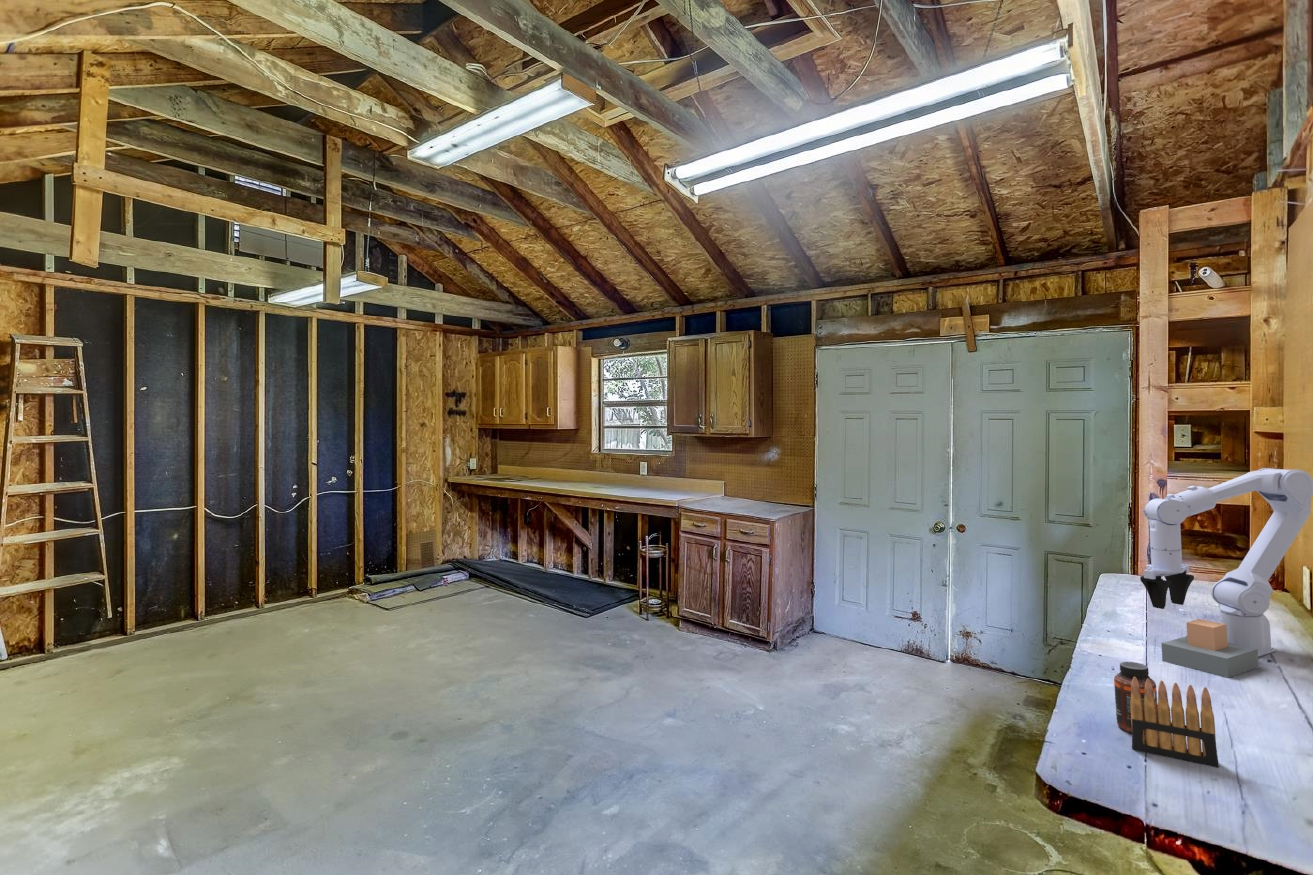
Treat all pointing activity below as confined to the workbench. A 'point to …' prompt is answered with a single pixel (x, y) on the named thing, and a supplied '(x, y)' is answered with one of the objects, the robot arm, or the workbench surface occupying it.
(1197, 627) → the terracotta cube
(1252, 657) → the slate plinth
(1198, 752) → the ammunition clip
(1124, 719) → the supplement bottle
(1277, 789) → the workbench surface
